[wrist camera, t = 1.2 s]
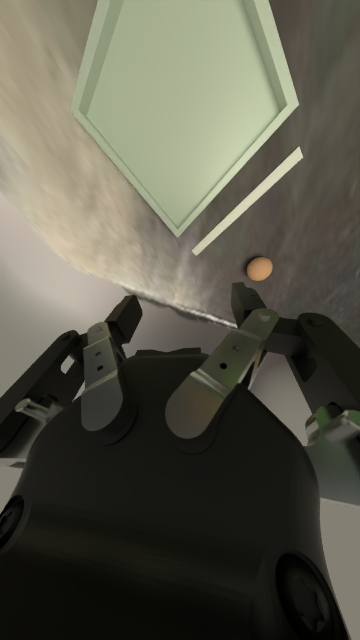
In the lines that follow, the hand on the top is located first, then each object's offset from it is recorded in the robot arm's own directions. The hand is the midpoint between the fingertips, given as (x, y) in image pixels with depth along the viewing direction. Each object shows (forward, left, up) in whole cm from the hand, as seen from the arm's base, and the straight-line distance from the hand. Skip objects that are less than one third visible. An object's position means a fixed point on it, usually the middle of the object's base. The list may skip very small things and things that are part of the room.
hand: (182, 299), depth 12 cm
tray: (-9, -13, -26) cm, 30 cm away
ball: (-7, +15, -23) cm, 28 cm away
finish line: (-9, +3, -26) cm, 27 cm away
